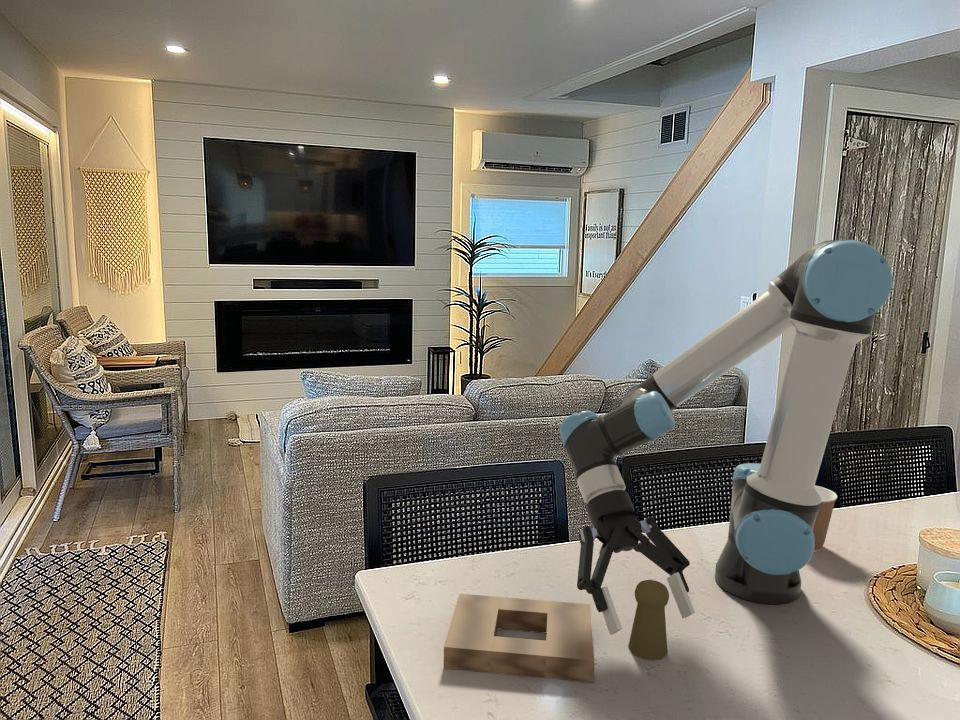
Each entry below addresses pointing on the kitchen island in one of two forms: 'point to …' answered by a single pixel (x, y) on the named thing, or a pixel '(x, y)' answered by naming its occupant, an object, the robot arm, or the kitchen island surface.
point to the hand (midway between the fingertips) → (653, 623)
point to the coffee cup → (823, 516)
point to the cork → (649, 621)
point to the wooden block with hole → (486, 652)
